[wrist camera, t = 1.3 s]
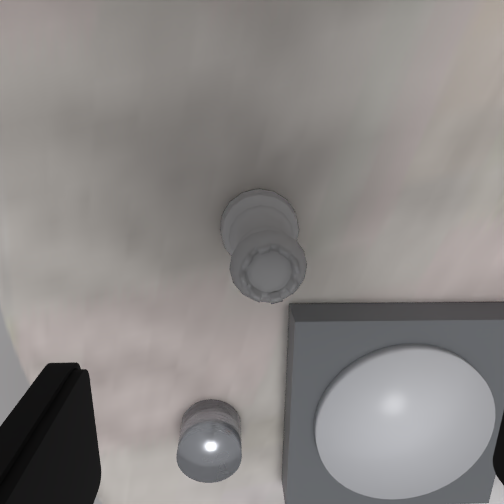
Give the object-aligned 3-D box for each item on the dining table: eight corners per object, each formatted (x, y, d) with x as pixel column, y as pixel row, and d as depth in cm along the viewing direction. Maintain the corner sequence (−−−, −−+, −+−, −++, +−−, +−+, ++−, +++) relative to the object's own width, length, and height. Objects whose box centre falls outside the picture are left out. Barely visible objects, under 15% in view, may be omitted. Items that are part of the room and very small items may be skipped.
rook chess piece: (297, 259, 25) (324, 322, 18) (222, 263, 25) (218, 328, 17) (296, 185, 24) (326, 218, 16) (217, 189, 24) (210, 224, 16)
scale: (289, 303, 26) (296, 328, 23) (507, 302, 27) (543, 325, 24) (281, 486, 30) (286, 527, 27) (468, 480, 31) (493, 520, 28)
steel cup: (180, 399, 28) (175, 431, 25) (240, 398, 28) (241, 430, 25) (183, 447, 29) (178, 483, 26) (240, 446, 29) (241, 481, 26)
